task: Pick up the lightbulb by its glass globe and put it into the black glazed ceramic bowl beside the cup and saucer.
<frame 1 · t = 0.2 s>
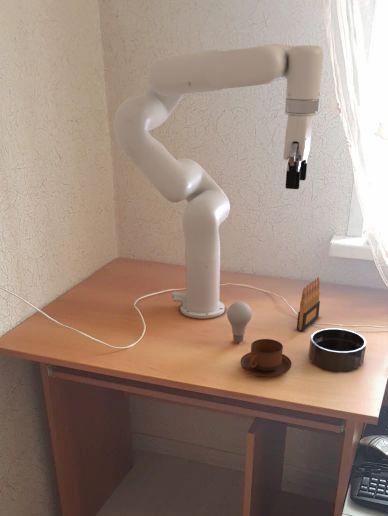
hand: (295, 184, 153), 36 cm above the table, tool pointing down, fingers open, 9 cm apart
lightbulb: (238, 343, 161), on the table
bowl: (335, 360, 152), on the table
ammunition clip: (307, 324, 170), on the table
cup and saucer: (265, 369, 149), on the table
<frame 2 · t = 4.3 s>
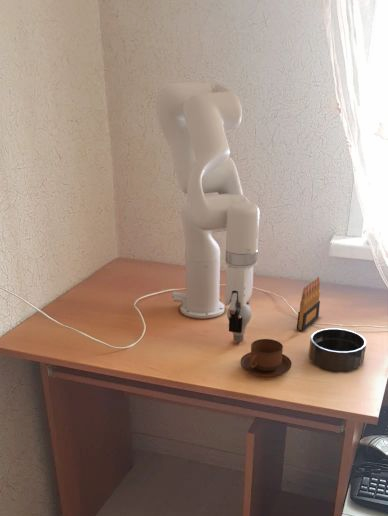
hand: (238, 325, 158), 5 cm above the table, tool pointing down, fingers closed on lightbulb, 6 cm apart
lightbulb: (238, 343, 161), on the table, touching gripper
everything else where it was.
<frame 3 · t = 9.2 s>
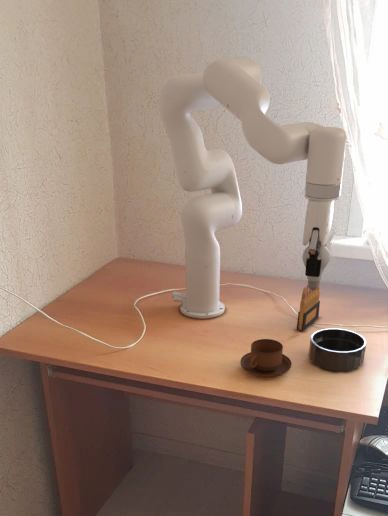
hand: (315, 270, 143), 22 cm above the table, tool pointing down, fingers closed on lightbulb, 6 cm apart
lightbulb: (312, 290, 146), point 17 cm above the table, touching gripper
everything else where it was.
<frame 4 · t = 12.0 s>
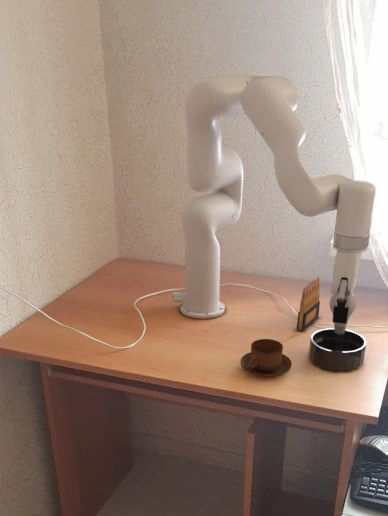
hand: (341, 316, 146), 12 cm above the table, tool pointing down, fingers closed on lightbulb, 6 cm apart
lightbulb: (338, 335, 149), point 7 cm above the table, touching gripper
everything else where it was.
when the fingers open (6 cm above the table, at t = 14.0 s): lightbulb stays where it is, resting on bowl.
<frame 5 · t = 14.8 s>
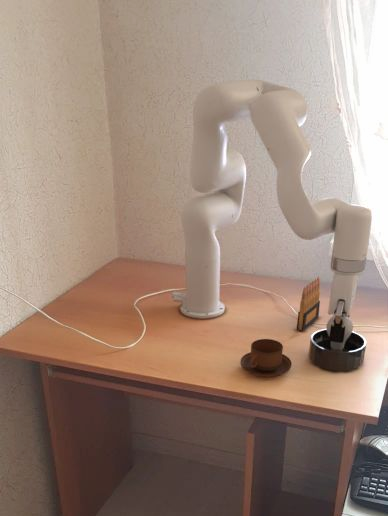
hand: (338, 332, 149), 7 cm above the table, tool pointing down, fingers open, 9 cm apart
lightbulb: (335, 357, 152), point 1 cm above the table, touching bowl
everything else where it was.
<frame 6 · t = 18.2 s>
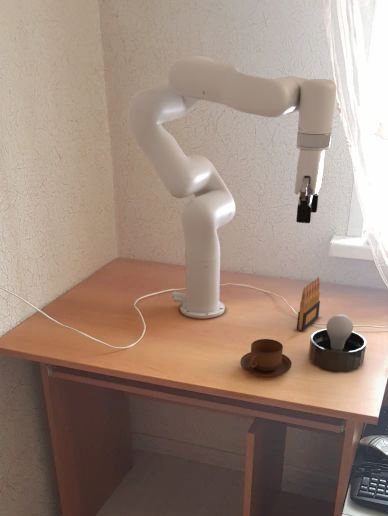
hand: (306, 217, 150), 30 cm above the table, tool pointing down, fingers open, 9 cm apart
nothing on the table moved.
at the end: lightbulb inside the target area in the bowl (0.1 cm from its centre), point 0.6 cm above the bowl's base; the gripper is holding nothing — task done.
